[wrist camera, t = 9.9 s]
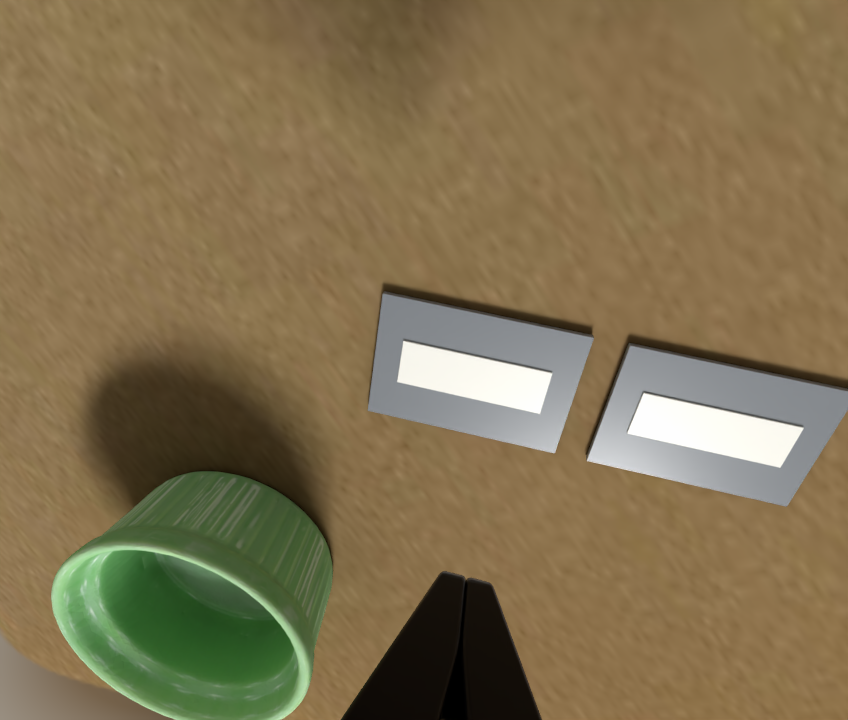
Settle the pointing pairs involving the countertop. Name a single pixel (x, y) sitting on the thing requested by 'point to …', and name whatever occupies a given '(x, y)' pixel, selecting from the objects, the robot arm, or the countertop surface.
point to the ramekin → (201, 600)
